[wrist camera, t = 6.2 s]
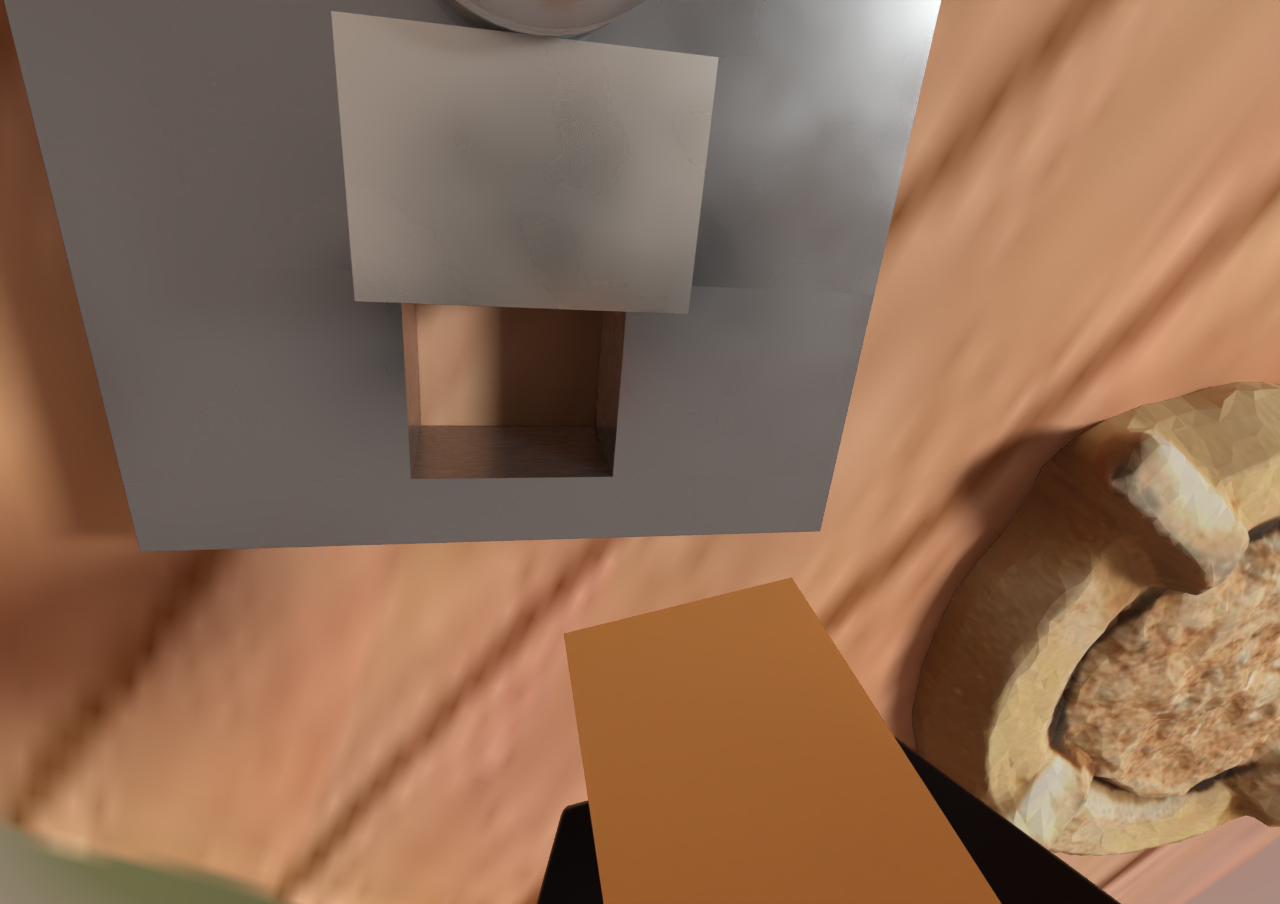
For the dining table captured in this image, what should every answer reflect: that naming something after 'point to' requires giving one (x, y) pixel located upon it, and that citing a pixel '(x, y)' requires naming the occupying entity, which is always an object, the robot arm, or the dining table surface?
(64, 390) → the dining table surface
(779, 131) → the grey slotted base plate
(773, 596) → the orange rectangular block
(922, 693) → the ashtray
